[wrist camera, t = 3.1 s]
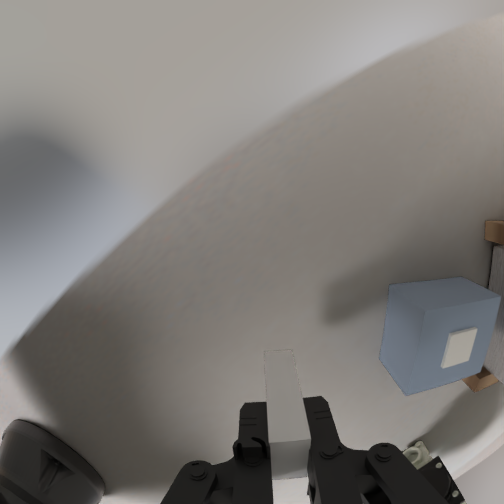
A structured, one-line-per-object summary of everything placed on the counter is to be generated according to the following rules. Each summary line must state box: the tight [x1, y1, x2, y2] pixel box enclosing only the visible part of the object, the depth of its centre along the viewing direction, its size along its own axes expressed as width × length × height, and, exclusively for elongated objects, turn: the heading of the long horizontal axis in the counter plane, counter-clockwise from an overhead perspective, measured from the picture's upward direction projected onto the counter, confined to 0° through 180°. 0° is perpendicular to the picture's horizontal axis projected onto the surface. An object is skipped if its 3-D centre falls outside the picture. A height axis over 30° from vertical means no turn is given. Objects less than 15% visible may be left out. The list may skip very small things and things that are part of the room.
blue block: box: [379, 277, 501, 396], centre depth 17 cm, size 7×6×5 cm
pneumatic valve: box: [403, 441, 467, 504], centre depth 17 cm, size 6×12×12 cm, turn 37°
